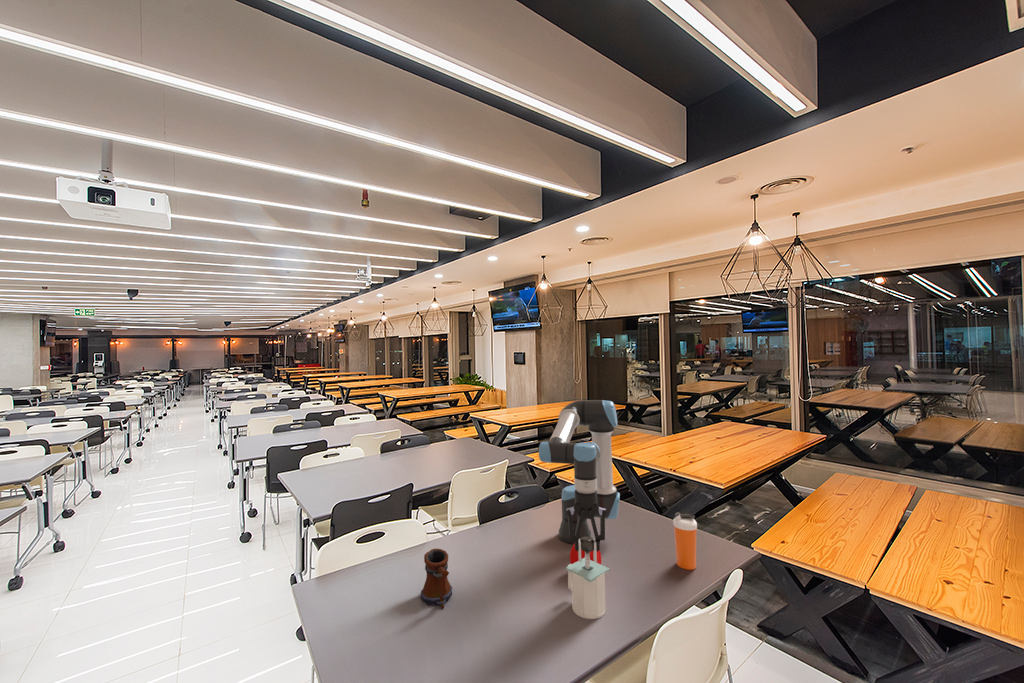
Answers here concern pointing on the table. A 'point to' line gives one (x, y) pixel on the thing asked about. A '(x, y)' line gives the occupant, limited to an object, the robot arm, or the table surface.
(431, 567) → the mug
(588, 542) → the plunger
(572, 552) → the tomato
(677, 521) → the shaker bottle
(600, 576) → the press pot
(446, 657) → the table surface
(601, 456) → the robot arm
